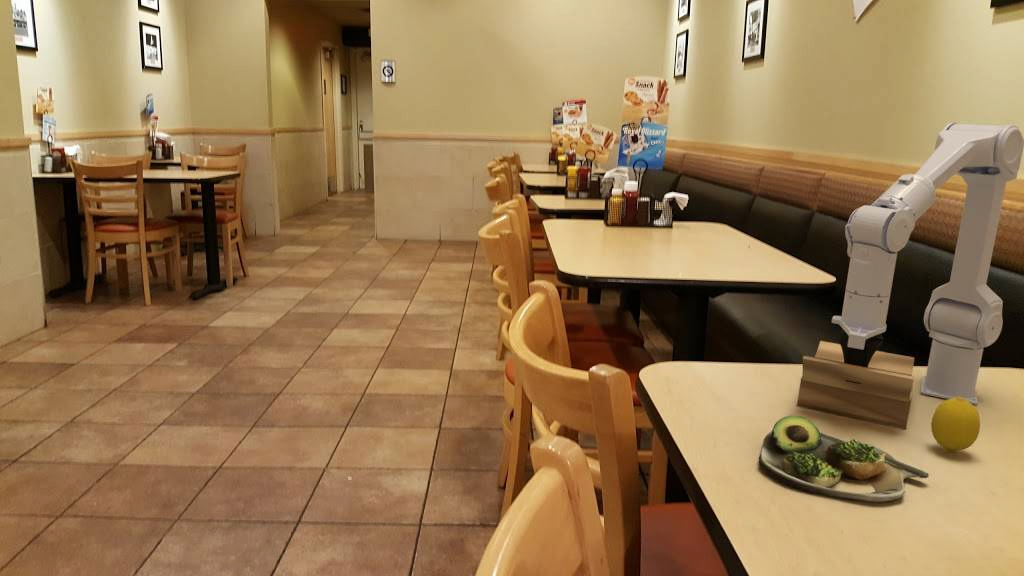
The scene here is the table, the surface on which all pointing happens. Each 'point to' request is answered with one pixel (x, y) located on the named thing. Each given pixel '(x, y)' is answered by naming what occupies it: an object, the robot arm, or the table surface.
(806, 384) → the carton
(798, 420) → the avocado toast plate
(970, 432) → the lemon
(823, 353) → the panel
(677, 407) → the table surface
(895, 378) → the flap front
